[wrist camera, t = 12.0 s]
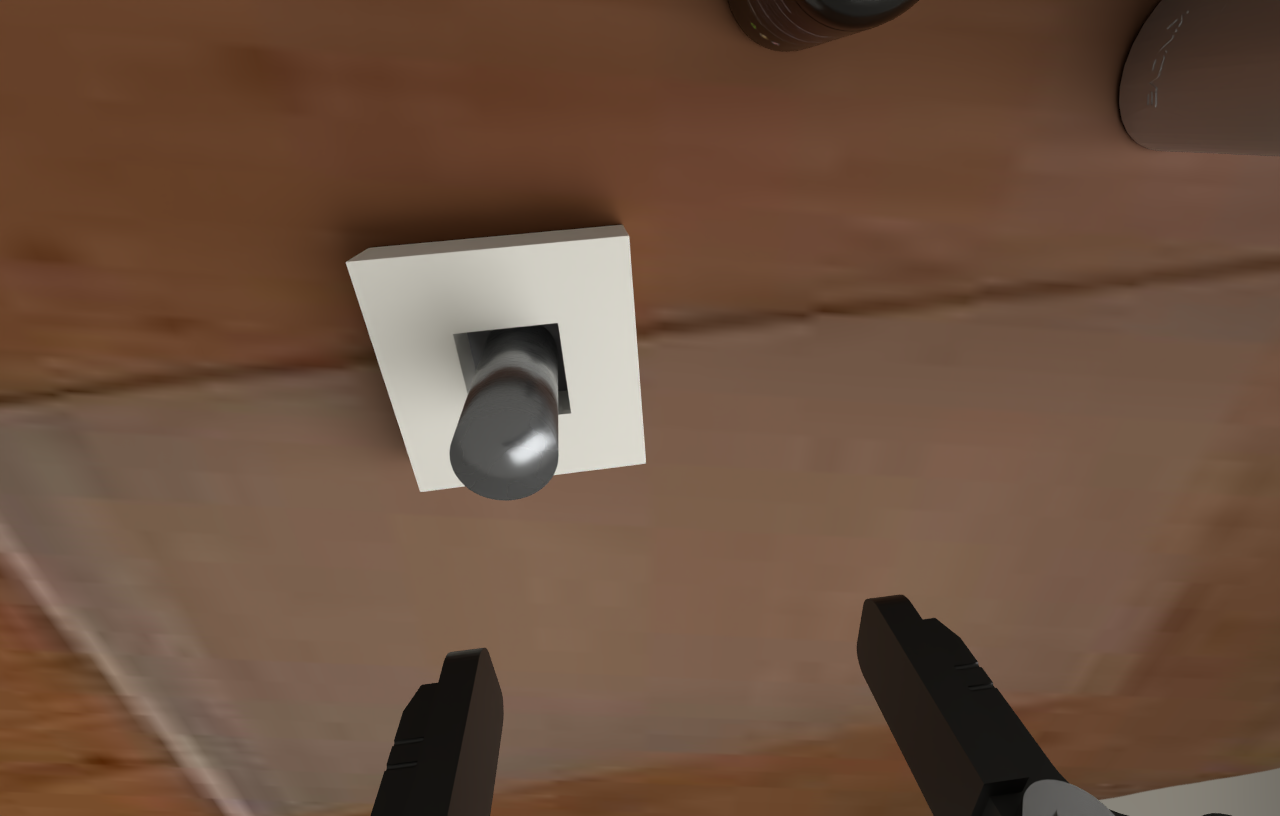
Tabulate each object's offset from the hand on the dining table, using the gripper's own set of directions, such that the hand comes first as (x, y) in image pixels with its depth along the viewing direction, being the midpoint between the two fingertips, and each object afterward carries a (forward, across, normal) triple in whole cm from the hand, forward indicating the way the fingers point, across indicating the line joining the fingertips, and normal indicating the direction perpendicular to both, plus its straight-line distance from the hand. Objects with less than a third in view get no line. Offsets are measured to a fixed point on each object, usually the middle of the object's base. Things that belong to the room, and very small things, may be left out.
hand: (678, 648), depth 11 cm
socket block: (+24, +6, +2) cm, 25 cm away
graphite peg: (+24, +6, +2) cm, 24 cm away
